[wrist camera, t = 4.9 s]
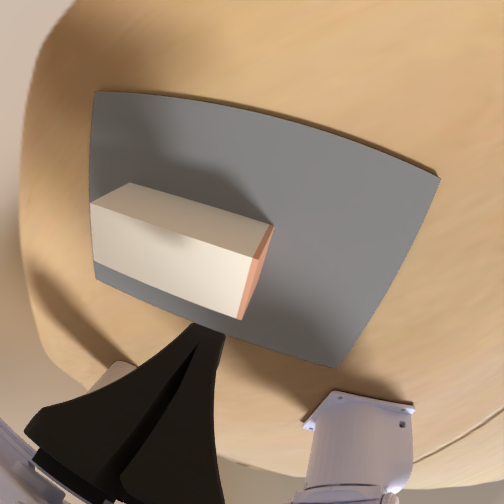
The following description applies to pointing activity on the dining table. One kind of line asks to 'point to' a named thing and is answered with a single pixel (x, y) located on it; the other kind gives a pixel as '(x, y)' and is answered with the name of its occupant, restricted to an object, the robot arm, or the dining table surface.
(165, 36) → the dining table surface
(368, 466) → the robot arm
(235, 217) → the block
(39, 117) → the dining table surface
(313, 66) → the dining table surface
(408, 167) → the mat
